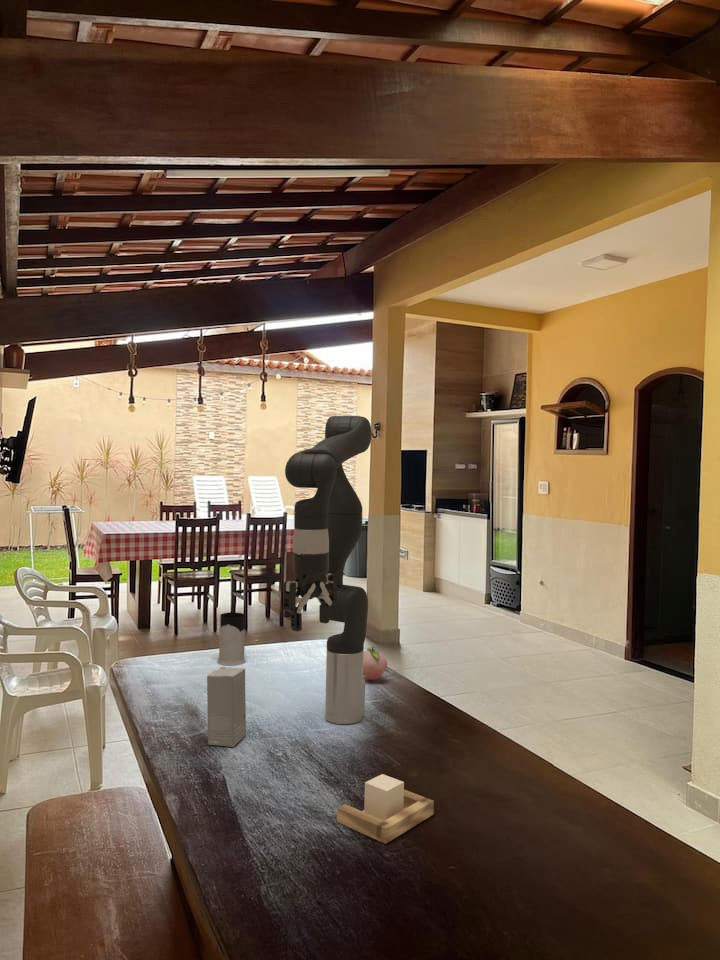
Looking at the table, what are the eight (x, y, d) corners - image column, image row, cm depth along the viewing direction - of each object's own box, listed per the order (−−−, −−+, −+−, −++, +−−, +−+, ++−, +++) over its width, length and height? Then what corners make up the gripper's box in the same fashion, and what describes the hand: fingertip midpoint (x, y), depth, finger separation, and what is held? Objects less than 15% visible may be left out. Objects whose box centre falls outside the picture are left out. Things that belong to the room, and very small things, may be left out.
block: (381, 806, 134) (382, 773, 134) (403, 815, 131) (403, 782, 131) (364, 815, 130) (364, 782, 130) (385, 825, 127) (386, 791, 127)
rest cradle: (385, 795, 139) (386, 782, 139) (433, 814, 132) (433, 800, 132) (336, 821, 128) (337, 807, 128) (385, 843, 121) (386, 829, 121)
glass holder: (213, 664, 226) (214, 616, 226) (229, 653, 240) (229, 608, 240) (240, 666, 225) (241, 618, 225) (254, 655, 239) (255, 609, 239)
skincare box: (234, 748, 160) (235, 677, 160) (203, 745, 162) (205, 674, 162) (247, 734, 169) (248, 667, 168) (218, 731, 170) (219, 664, 170)
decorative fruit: (351, 678, 215) (352, 644, 215) (376, 675, 219) (377, 642, 219) (365, 687, 207) (366, 652, 207) (390, 684, 210) (391, 649, 210)
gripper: (320, 544, 159) (320, 617, 160) (273, 551, 148) (273, 630, 149) (346, 547, 155) (346, 623, 155) (300, 555, 144) (300, 636, 144)
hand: (310, 626), depth 152 cm, fingers open, 8 cm apart
